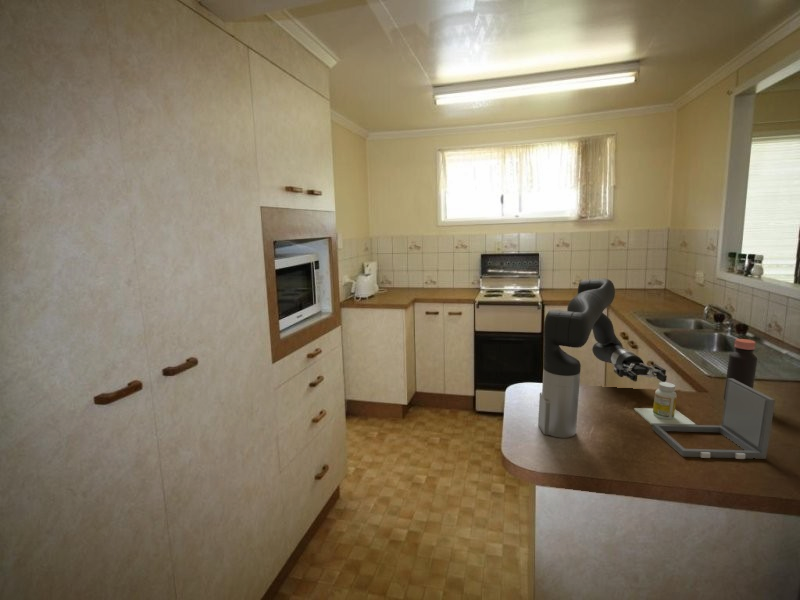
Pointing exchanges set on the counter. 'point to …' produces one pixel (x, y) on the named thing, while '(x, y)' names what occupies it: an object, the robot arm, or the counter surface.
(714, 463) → the counter surface
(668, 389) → the supplement bottle
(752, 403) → the access hatch
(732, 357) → the vinegar
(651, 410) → the mat
